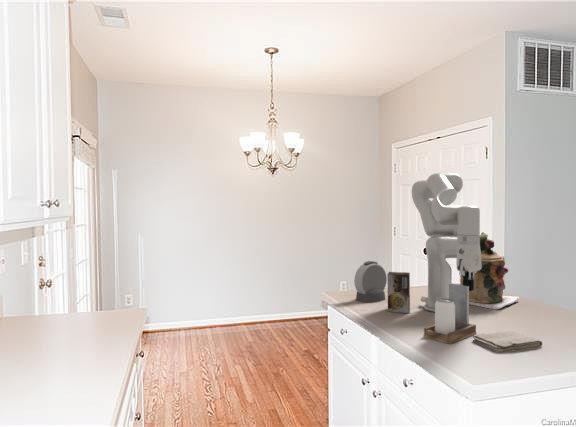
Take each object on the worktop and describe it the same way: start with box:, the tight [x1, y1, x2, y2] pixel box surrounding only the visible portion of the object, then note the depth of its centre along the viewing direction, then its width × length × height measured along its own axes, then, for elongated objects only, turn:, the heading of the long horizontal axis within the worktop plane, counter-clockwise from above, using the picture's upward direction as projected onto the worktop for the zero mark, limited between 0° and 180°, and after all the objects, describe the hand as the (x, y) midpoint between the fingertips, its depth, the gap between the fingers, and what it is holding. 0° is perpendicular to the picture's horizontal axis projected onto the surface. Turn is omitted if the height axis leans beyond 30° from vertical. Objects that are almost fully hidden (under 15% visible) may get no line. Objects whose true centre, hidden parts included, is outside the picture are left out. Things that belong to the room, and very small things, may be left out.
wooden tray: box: [423, 322, 477, 345], centre depth 143 cm, size 10×17×3 cm, turn 129°
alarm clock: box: [354, 260, 388, 304], centre depth 196 cm, size 16×10×18 cm, turn 120°
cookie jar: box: [459, 231, 520, 310], centre depth 192 cm, size 25×25×32 cm
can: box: [434, 298, 455, 335], centre depth 141 cm, size 6×6×12 cm
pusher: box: [449, 283, 470, 330], centre depth 147 cm, size 7×1×16 cm, turn 39°
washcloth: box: [472, 330, 543, 353], centre depth 134 cm, size 12×18×3 cm, turn 108°
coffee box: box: [386, 271, 411, 314], centre depth 176 cm, size 9×6×16 cm
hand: (468, 290), depth 150 cm, fingers closed
